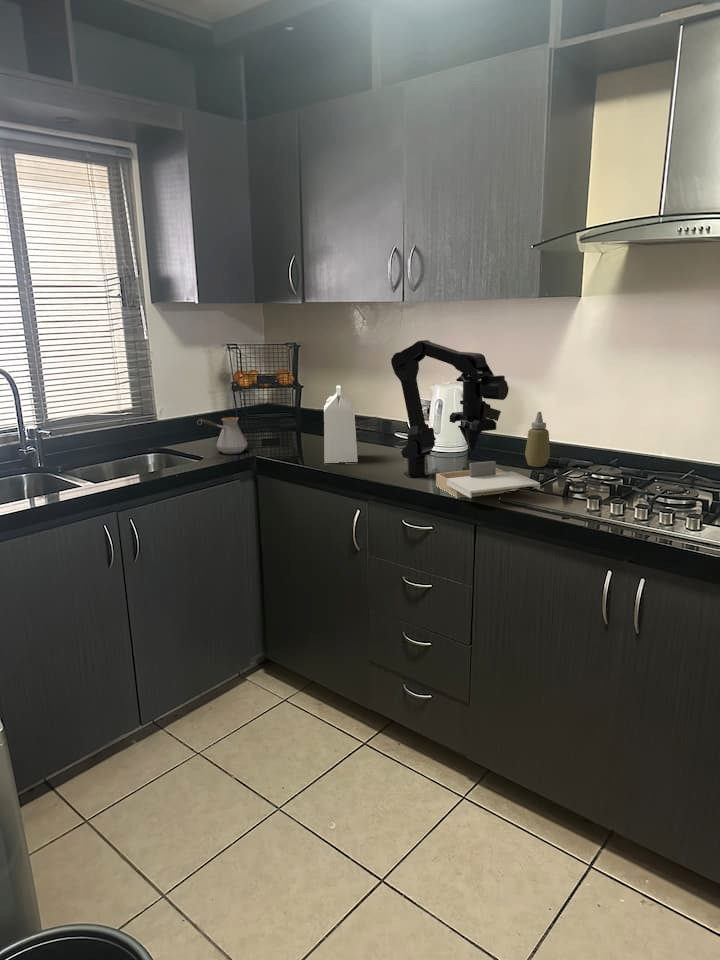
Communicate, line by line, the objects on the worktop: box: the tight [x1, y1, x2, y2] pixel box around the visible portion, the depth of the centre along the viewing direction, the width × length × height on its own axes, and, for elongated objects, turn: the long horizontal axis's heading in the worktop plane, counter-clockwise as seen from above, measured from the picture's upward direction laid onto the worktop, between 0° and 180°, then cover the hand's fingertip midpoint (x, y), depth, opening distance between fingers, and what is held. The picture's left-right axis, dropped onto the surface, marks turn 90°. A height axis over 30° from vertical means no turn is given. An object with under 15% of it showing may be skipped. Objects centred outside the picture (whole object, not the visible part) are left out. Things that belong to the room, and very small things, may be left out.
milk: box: [323, 385, 359, 464], centre depth 241 cm, size 12×12×26 cm
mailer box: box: [435, 467, 516, 499], centre depth 203 cm, size 14×20×4 cm
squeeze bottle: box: [524, 411, 551, 468], centre depth 228 cm, size 8×8×18 cm
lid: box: [447, 460, 541, 499], centre depth 194 cm, size 14×22×6 cm
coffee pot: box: [197, 416, 248, 455], centre depth 255 cm, size 21×12×15 cm, turn 146°
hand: (471, 449), depth 205 cm, fingers closed
